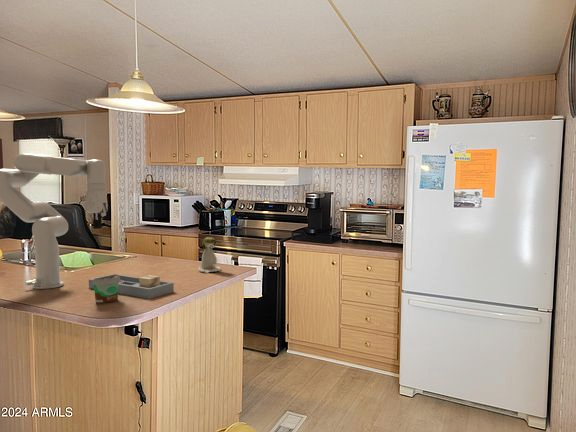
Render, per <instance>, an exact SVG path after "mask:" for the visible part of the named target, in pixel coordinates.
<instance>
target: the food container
mask: <svg viewBox="0 0 576 432" xmlns="http://www.w3.org/2000/svg"><path fill="white" fill-rule="evenodd" d="M113 274H114V276H113V277H108V278H103V279H101V280H96V279H93V284H92V285H94V289H93V292H94V298H95V299H94V300H95V305H108V304H109V305H110V304H113V303H116V302H118V299H119V293H118V286H119V282H120V277H119V275H120V274H119V275H117V273H113Z"/></svg>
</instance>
